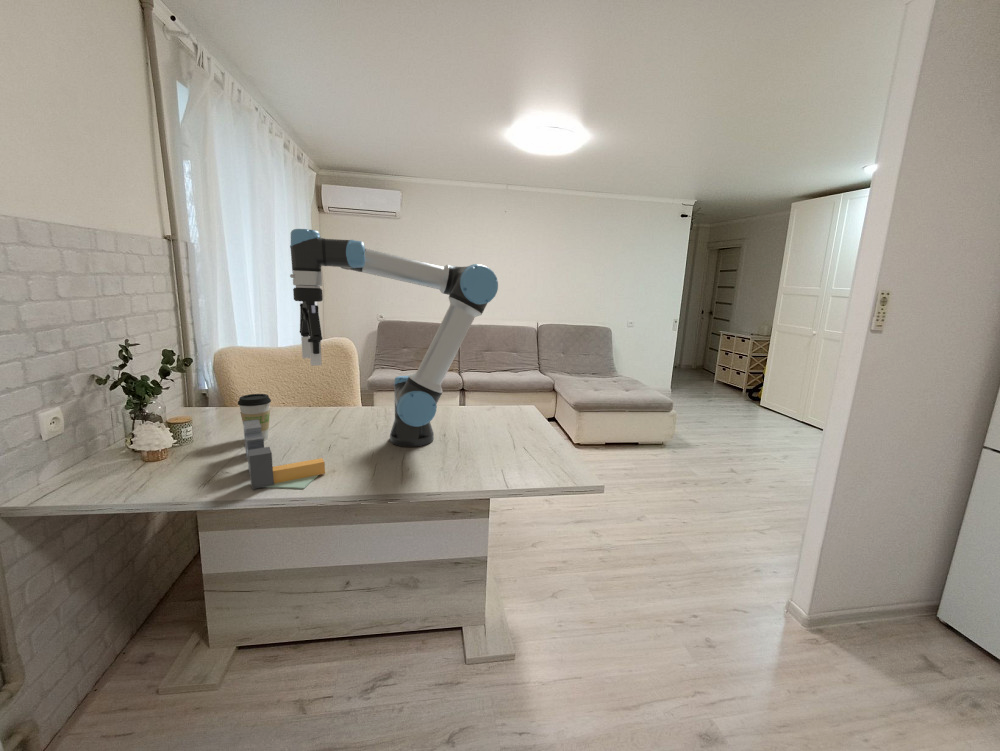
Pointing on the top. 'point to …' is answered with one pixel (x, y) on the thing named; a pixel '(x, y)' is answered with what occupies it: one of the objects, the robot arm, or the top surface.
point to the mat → (294, 483)
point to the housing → (252, 436)
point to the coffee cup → (256, 410)
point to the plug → (279, 469)
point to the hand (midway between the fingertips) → (311, 361)
